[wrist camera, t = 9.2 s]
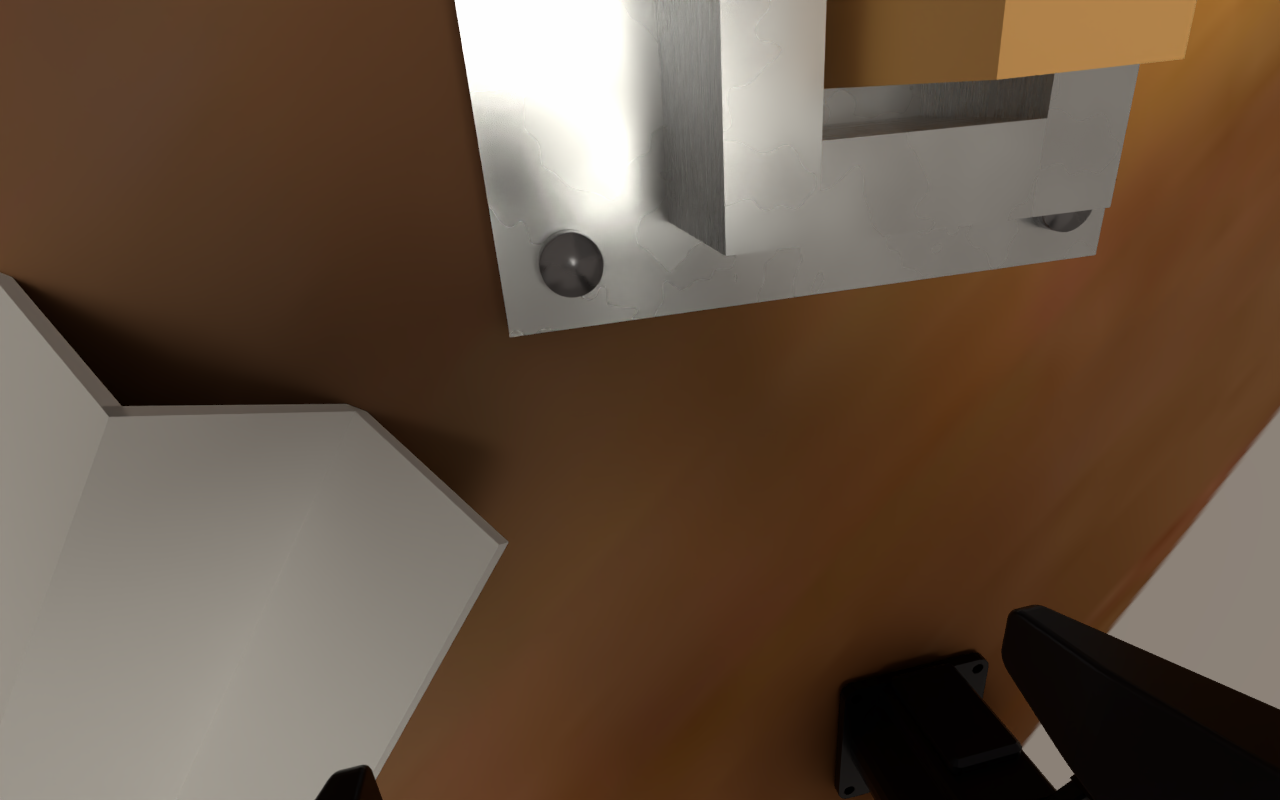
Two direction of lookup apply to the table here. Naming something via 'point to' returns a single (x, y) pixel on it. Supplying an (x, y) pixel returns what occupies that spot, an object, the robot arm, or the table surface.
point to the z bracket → (210, 586)
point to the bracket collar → (758, 160)
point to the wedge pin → (995, 38)
